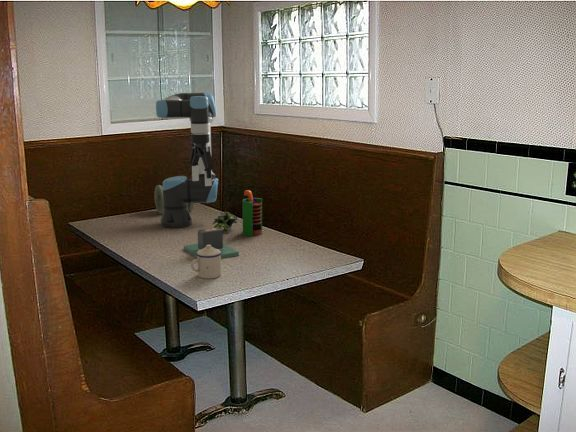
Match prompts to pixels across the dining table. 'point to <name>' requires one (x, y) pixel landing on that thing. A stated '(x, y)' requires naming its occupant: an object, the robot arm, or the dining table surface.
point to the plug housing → (210, 238)
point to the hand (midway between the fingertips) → (201, 183)
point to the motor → (252, 215)
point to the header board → (225, 251)
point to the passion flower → (225, 221)
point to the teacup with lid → (208, 262)
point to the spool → (159, 200)
